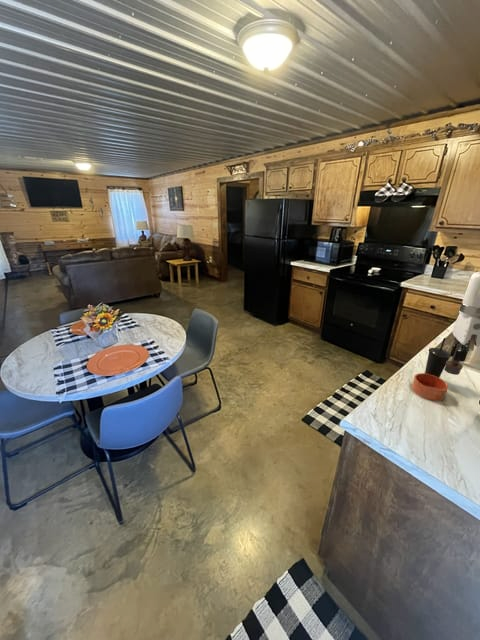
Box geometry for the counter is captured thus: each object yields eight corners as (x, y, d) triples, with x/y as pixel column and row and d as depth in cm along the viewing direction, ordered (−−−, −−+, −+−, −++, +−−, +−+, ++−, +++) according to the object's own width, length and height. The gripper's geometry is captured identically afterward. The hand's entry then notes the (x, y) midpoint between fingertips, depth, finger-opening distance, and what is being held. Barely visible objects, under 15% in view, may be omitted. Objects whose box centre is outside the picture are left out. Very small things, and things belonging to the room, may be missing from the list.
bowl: (438, 386, 109) (442, 376, 107) (448, 403, 99) (453, 392, 97) (408, 381, 112) (411, 371, 110) (415, 397, 102) (419, 386, 100)
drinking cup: (439, 377, 115) (453, 336, 107) (443, 387, 108) (459, 344, 101) (418, 372, 118) (431, 332, 110) (421, 382, 111) (435, 340, 103)
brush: (456, 369, 97) (467, 342, 92) (462, 376, 92) (473, 348, 88) (441, 366, 98) (450, 340, 94) (446, 373, 94) (456, 346, 90)
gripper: (502, 320, 78) (480, 372, 85) (477, 303, 92) (460, 349, 99) (472, 317, 80) (453, 368, 87) (451, 301, 94) (436, 346, 101)
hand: (456, 358), depth 93 cm, fingers closed on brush
